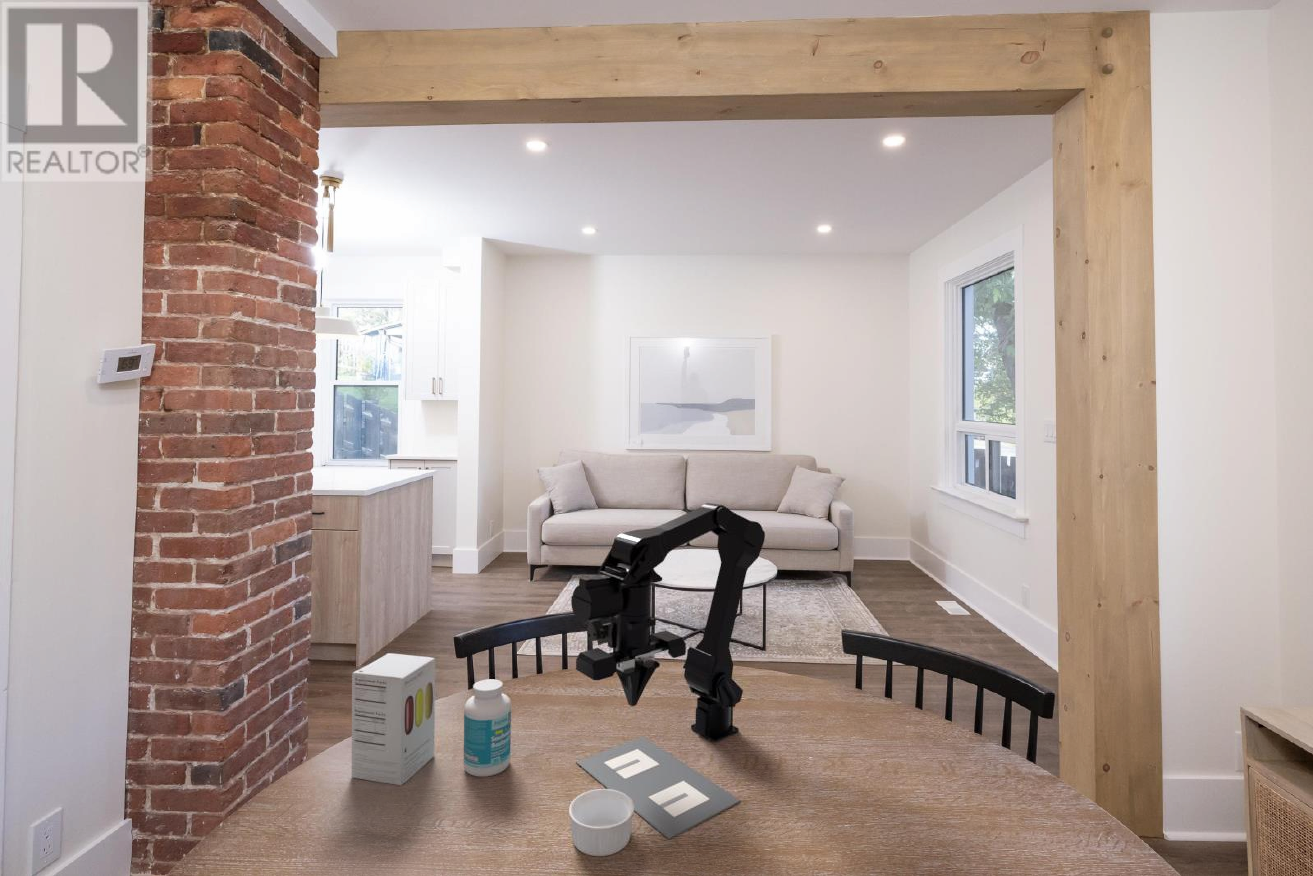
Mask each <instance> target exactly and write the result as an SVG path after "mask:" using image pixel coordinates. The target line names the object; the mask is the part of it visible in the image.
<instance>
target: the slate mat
mask: <svg viewBox="0 0 1313 876" xmlns="http://www.w3.org/2000/svg"><path fill="white" fill-rule="evenodd" d="M575 764H577V765H578V766H579V767H580V766H581V767H580V768H582V769H583V770H584V771H585V772H586V773H588V775H589V776H591V777H593V779H595V780H596V781H597V782H598V783H599V784H601V785H602V786H603V787H604V788H605V789H612V790H617V791H620V792H622V793H624V794H626V795H627V796H629V797H630V798H631V800H632V801H633V803H634V813H635V814H637V815H638V816H639V817H641V818H642V819H643V820H644V821H645V822H647V823H648V824H649V825H650V826H652V827H653V828H654V829H655V830H656V831H658V832H659V833H660V834H661V835H663V836H664V837H665V838H667V840H671V839H673V838H675V837H676V836H678V835H680V834H682V833H684V832H686V831H688V830H690V829H691V828H694V827H695V826H698V825H699V824H701V823H703V822H704V821H706V820H709V819H710V818H712V817H714V816H716V815H718V814H721V813H722V812H724V811H726V810H728V809H730V808H731V807H733V806H735V805H737V804H739V803H741V802H742V801H741V800H740V799H739V798H737V797H736V796H734V795H733V794H732V793H730V792H728V791H727V790H726V789H724V788H723V787H721V786H720V785H718V784H716V782H713V781H712V780H710V779H709V778H708V777H706V776H704V775H703V774H701V773H700V772H698V771H696V770H695V769H694V768H693V767H690V766H689V765H687V764H686V763H684V762H683V761H681V760H680V759H678V758H677V757H676V756H674V755H673V754H671V753H670V752H668V751H666V750H665V749H663V748H662V747H660V746H659V745H657V744H656V743H654V742H652V740H650V739H648V738H646V737H645V736H640V737H638V738H635V739H632V740H629V741H627V742H625V743H621V744H619V745H616V746H614V747H611V748H609V749H606V750H603V751H601V752H599V753H596V754H593V755H590V756H588V757H585V758H583V759H580V760H577V761H575Z"/></svg>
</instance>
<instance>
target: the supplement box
mask: <svg viewBox="0 0 1313 876" xmlns="http://www.w3.org/2000/svg"><path fill="white" fill-rule="evenodd" d="M351 682H352V683H351V778H353V779H361V780H367V781H372V782H378V783H384V784H391V785H396V786H403V784H404V783H405V782H407V781H408V780H409V779H410V778H412V777H413V776H414V775H415V774H416V773H417V772H418V771H419V770H421V769H422V768H423V767H424V766H425V765H426V764H428V762H429V761H431V760H432V759H433V758H434V757H435V725H436V724H435V719H436V718H435V714H436V712H435V711H436V707H435V706H436V658H435V657H429V656H421V655H412V654H411V655H410V654H403V653H402V654H400V653H392V652H391V653H389V652H388V653H386V654H384V655H383V656H381V657H379V658H378V659H375V660H374V661H373V662H371V663H368V664H367V665H365V666H363V667H361V668H360V669H358V670H355V671H353V672H352V673H351Z"/></svg>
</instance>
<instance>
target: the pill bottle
mask: <svg viewBox="0 0 1313 876" xmlns="http://www.w3.org/2000/svg"><path fill="white" fill-rule="evenodd" d="M503 691H504V683H503V682H502V681H501V680H499V679H493V678H492V679H490V678H489V679H487V678H486V679H481V680H479V681H477V682H475V683H474V684H473V685H472V694H473V695H471V697H469V698H468V699H467V700H466V703H465V704H464V709H463V768H464V770H465V772H466V773H468V774H469V775H471V776H475V777H482V778H484V777H490V776H495V775H497V774H500V773H501V772H503V771H505V770H506V768H508V766H509V765H510V762H511V743H512V742H511V738H512V737H511V736H512V735H511V732H512V730H511V729H512V728H511V727H512V724H511V723H512V722H511V721H512V716H511V715H512V702H511V699H510V698H509V696H508V695H506V694H505V693H503Z"/></svg>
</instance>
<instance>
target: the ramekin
mask: <svg viewBox="0 0 1313 876" xmlns="http://www.w3.org/2000/svg"><path fill="white" fill-rule="evenodd" d="M634 813H635V811H634V803H633V801H632V800H631V798H630V797H629V796H627V795H626V794H624V793H622V792H620V791H617V790H612V789H607V788H597V789H596V788H595V789H591V790H587V791H585V792H583V793H581V794H578V795H577V796H576V797H575V798H574V799H573V800H572V801H571V803H570V805H569V807H568V817H569V819H570V827H571V837H572V842H573V845H574V846H575V848H576V849H577V850H578V851H580V852H582V853H584V854H586V855H588V856H593V857H607V856H611V855H614V854H615V853H616V854H617V852H619V851H622V850H623V849H624V848H626V846H627V845H628V843H629V841H630V840H631V839H630V838H631V835H632V834H631V833H632V829H633V828H632V827H633V816H634Z"/></svg>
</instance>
